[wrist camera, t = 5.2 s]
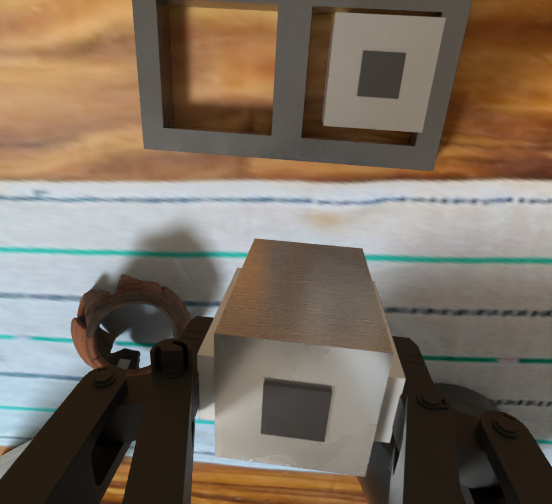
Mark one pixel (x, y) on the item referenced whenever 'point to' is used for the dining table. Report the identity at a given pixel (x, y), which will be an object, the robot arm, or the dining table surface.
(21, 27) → the dining table surface
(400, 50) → the gray upright block
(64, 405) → the robot arm
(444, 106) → the two-slot nut tray
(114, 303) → the pottery mug
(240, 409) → the nut block
